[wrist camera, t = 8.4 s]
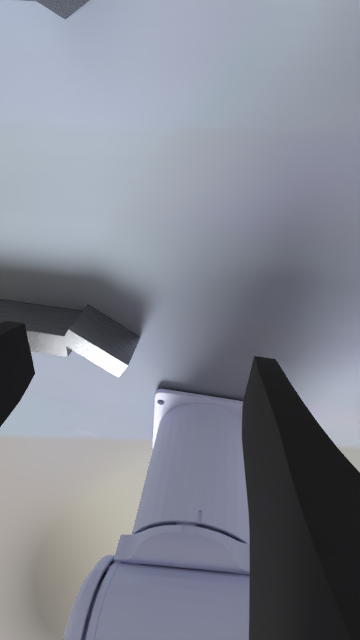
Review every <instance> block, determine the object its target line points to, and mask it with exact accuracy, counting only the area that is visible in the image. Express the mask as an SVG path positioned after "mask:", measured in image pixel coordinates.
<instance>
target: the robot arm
mask: <svg viewBox="0 0 360 640" xmlns="http://www.w3.org/2000/svg"><path fill="white" fill-rule="evenodd" d="M34 374H35V371H34V366H33V361H32V356H31V351H30V346H29V341H28V336H27V331H26V326H25V323H19V322H12V321H4V322H1V323H0V427H1V425H2V424H3V423H4V421H5V420H6V419H7V417H8V416H9V415H10V413H11V412H12V411H13V409H14V408H15V407H16V405H17V404H18V402H19V401H20V400H21V398H22V396H23V394H24V393H25V391H26V389H27V388H28V386H29V384H30V382H31V380H32V378H33V376H34ZM160 400H163V401H160ZM63 640H360V473H359V472H358V470H357V469H356V468H355V467H354V466H353V465H352V464H351V463H350V462H349V460H348V459H347V458H346V457H345V456H344V455H343V454H342V453H341V451H340V450H339V449H338V448H337V447H336V445H335V444H334V443H333V442H332V440H331V439H330V438H329V437H328V435H327V434H326V433H325V432H324V430H323V429H322V428H321V426H320V425H319V424H318V422H317V421H316V420H315V418H314V417H313V415H312V414H311V413H310V411H309V410H308V408H307V407H306V406H305V404H304V403H303V401H302V400H301V398H300V397H299V395H298V394H297V392H296V391H295V389H294V388H293V386H292V385H291V383H290V382H289V380H288V378H287V377H286V375H285V374H284V372H283V370H282V369H281V367H280V365H279V364H278V362H277V361H276V360H275V359H270V358H263V357H256V356H254V360H253V364H252V368H251V373H250V377H249V381H248V385H247V389H246V393H245V397H244V401H238V400H232V399H225V398H219V397H212V396H206V395H199V394H193V393H186V392H180V391H173V390H167V389H158V390H157V391H156V393H155V399H154V420H153V441H152V456H151V459H150V464H149V468H148V471H147V476H146V480H145V484H144V488H143V492H142V496H141V500H140V504H139V508H138V512H137V516H136V520H135V524H134V528H133V532H132V535H121V536H120V540H119V543H118V547H117V550H116V554H115V555H107V556H105V557H103V558H102V559H101V560H100V561H99V562H98V563H97V565H96V566H95V567H94V569H93V570H92V571H91V572H90V573H89V574H88V576H87V577H86V579H85V580H84V582H83V584H82V586H81V588H80V590H79V592H78V594H77V596H76V599H75V601H74V604H73V607H72V610H71V612H70V616H69V619H68V622H67V626H66V630H65V634H64V638H63Z"/></svg>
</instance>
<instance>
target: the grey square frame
mask: <svg viewBox="0 0 360 640" xmlns="http://www.w3.org/2000/svg"><path fill="white" fill-rule="evenodd" d="M26 1H37V2H39V3H40V4H42V5H43V6H45V7H47V8H48V9H50V10H51V11H53V12H55V13H56V14H58V15H59V16H61V17H62V18H64V19H66V18H67V17H69V16H70V15H71V14H73V13H74V12H75V11H76V10H78V9H79V8H80V7H81V6H83V5H84V4H85V3H87V2H88V1H89V0H26ZM4 321H12V322H19V323H25V326H26V331H27V336H28V341H29V346H30V351H32V352H38V353H45V354H52V355H58V356H65V357H68V356H69V354H70V353H71V351H72V350H73V351H75V352H77V353H78V354H80V355H82V356H83V357H85V358H87V359H88V360H90V361H92V362H93V363H95V364H97V365H98V366H100V367H102V368H103V369H105V370H107V371H108V372H110V373H112V374H113V375H115V376H117V377H119V376H120V375H121V374H122V372H123V371H124V370H125V369H126V367H127V366H128V364H129V362H130V360H131V357H132V355H133V353H134V351H135V348H136V346H137V344H138V341H139V339H140V337H138V336H136V335H135V334H133V333H132V332H130V331H129V330H127V329H125V328H124V327H122V326H121V325H119V324H118V323H116V322H114V321H113V320H111V319H110V318H108V317H106V316H105V315H103V314H102V313H100V312H99V311H97V310H95V309H94V308H92V307H91V306H89V305H88V306H87V307H86V308H85V310H84V311H79V310H72V309H64V308H57V307H50V306H43V305H35V304H28V303H21V302H14V301H6V300H0V323H1V322H4Z"/></svg>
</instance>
